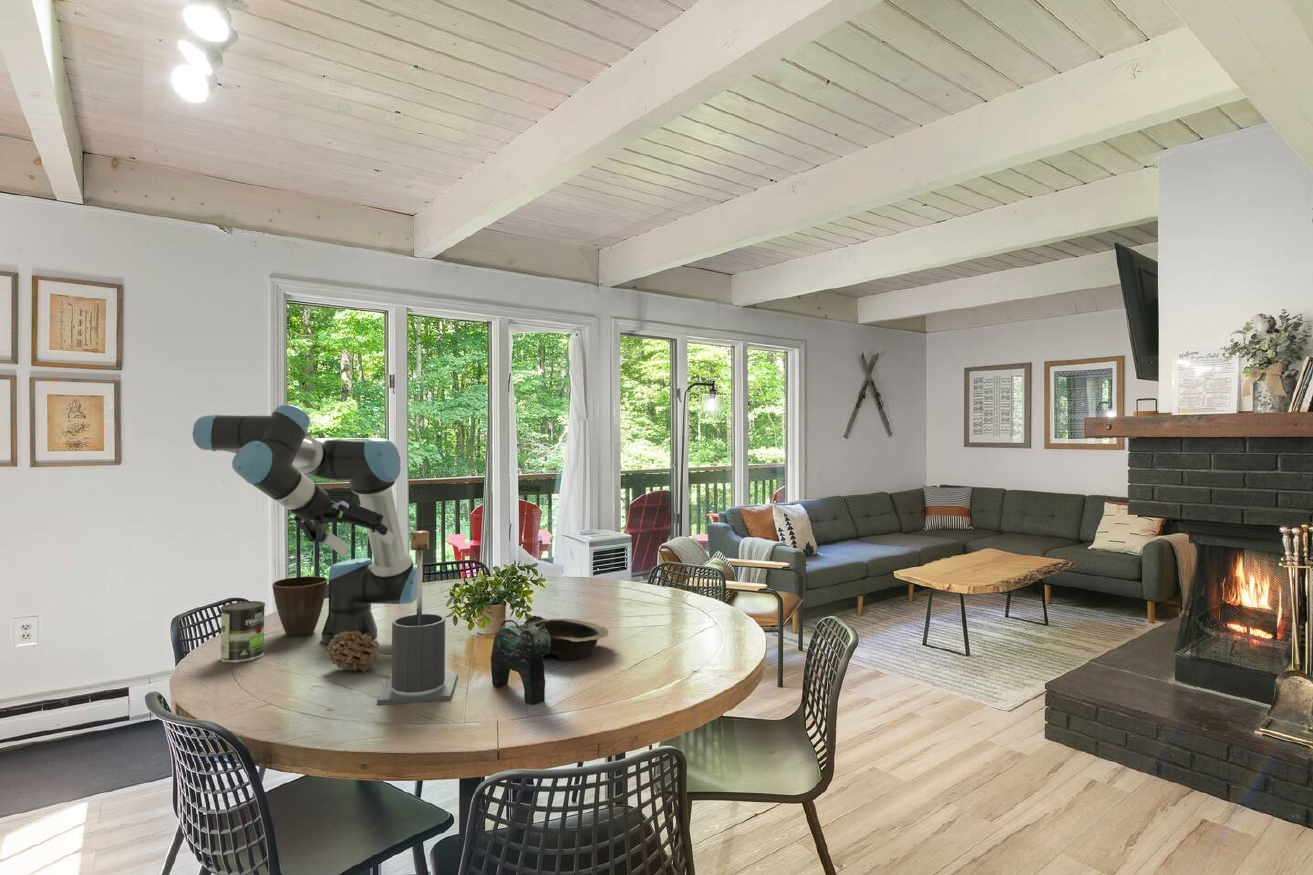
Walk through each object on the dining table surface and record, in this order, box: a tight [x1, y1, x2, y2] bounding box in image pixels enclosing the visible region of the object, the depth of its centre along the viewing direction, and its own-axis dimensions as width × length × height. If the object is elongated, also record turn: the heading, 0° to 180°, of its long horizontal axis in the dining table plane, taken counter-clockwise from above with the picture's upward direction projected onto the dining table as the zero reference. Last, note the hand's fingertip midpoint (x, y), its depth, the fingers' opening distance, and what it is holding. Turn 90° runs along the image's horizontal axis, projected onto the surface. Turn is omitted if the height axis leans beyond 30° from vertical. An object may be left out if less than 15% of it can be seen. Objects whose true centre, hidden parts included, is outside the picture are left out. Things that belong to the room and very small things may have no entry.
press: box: [376, 613, 459, 705], centre depth 164 cm, size 16×16×17 cm
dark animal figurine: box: [490, 609, 551, 706], centre depth 162 cm, size 20×6×20 cm, turn 44°
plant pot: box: [271, 575, 328, 638], centre depth 209 cm, size 15×15×16 cm
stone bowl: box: [518, 615, 609, 662], centre depth 193 cm, size 25×25×9 cm
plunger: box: [410, 530, 430, 626], centre depth 162 cm, size 9×9×27 cm
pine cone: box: [326, 631, 392, 672], centre depth 176 cm, size 22×10×10 cm, turn 84°
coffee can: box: [220, 600, 266, 664], centre depth 186 cm, size 10×10×14 cm
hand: (368, 545), depth 161 cm, fingers open, 13 cm apart
